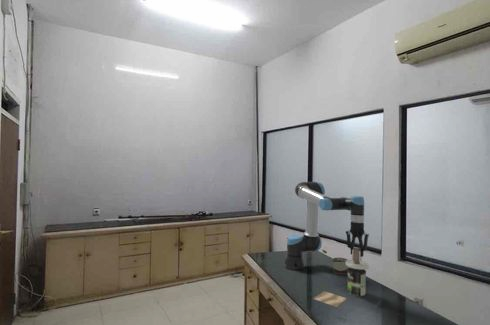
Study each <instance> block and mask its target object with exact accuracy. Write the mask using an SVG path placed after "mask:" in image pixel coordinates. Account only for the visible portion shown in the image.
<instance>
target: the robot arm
mask: <svg viewBox="0 0 490 325" xmlns="http://www.w3.org/2000/svg"><path fill="white" fill-rule="evenodd" d="M325 191H326V190H325V187H324V185H323V184H322V183H321V182H319V181H302V182H299V183H297V185H296V186H295V188H294V193H295V195H296V196H297V197H298V198H301V199H305V200H306V201H307V202H306V203H307V204H306V220H305V231H304V232H303V234H291V235H289V236H288V237H287V239H286V258H285V261H284V268H286V269H288V270H293V271H299V270H305V267H306V266H305V261H304V258H303V253H308V252H309V253H310V252H311V253H312V252H318V251H320V249H321V248H322V238H321V237H320V236H319V233H318V223H319V222H318V220H319V208H320V210H322V211H327V212H328V211H341V210H342V211H344V210H345V211H350V229H349V230H346V231H345V234H346V246H347V248H348V249H350V255H351V260H352V261H354V247H355V243H356V239H358V244H359V248H360V251H359V262H362V261H363V260H362V259H363V257H364V252H365V251H367V250H368V239H369V236H370V233H366V232H365V223H364V222H365V199H364V197H363V196H362V195H361V196H360V195H351V196H350V197H346V196H345V197H329V196H326V195H325V193H326V192H325ZM351 236H352V237H351ZM363 237H364V238H363Z"/></svg>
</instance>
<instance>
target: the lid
mask: <svg viewBox="0 0 490 325" xmlns="http://www.w3.org/2000/svg"><path fill="white" fill-rule="evenodd" d="M359 251H360V247H356V246H354V261H352V259H348V260H347V261H345V265H346V266H348V268H349V267H350V268H353V269H361V270H363V269H364V270H368V269H369V267H370V265H369V263H368V262H366V261H363V260H362V262H359Z"/></svg>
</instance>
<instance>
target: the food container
mask: <svg viewBox="0 0 490 325" xmlns="http://www.w3.org/2000/svg"><path fill="white" fill-rule="evenodd" d="M347 260H349V259H347V258H345V257H333V258H332V260H331V263H332V266H333V274H335V275H348V268H349V267H348V266H346V265H345V261H347Z"/></svg>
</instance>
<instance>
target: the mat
mask: <svg viewBox="0 0 490 325" xmlns="http://www.w3.org/2000/svg"><path fill="white" fill-rule="evenodd" d="M312 299H313V300H314V301H315V300H316V301H318V302H321V303H324V304H326V305H330V306H332V307H336V308H337V307H339V305H341V304H342V303H344V302H345V301H346V300H347V299H348V298H347V297H344V296H340V295H337V294H334V293H332V292H328V291H325V290H324V291H322V292H321V293H319V294H317V295H316V296H314V297H313V298H312Z"/></svg>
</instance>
